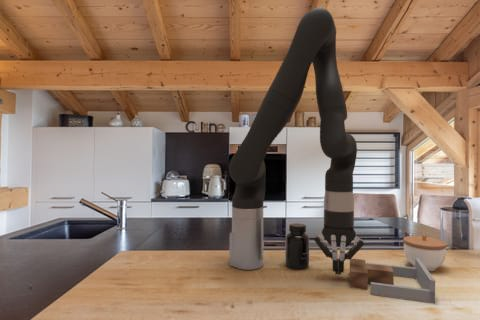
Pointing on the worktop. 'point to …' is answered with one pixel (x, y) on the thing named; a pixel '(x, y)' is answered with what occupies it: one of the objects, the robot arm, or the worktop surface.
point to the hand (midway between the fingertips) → (338, 273)
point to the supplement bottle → (297, 247)
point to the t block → (369, 274)
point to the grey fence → (410, 293)
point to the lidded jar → (425, 251)
